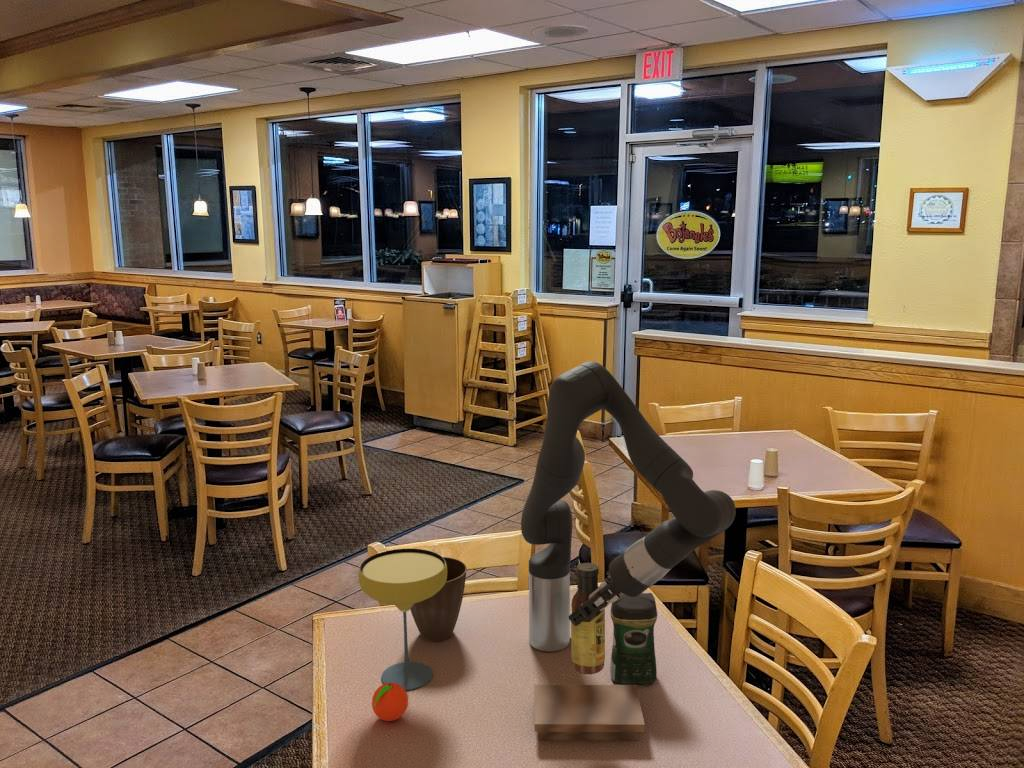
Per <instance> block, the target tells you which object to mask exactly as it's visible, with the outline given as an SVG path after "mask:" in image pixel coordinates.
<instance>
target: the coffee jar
mask: <svg viewBox="0 0 1024 768" xmlns="http://www.w3.org/2000/svg"><path fill="white" fill-rule="evenodd" d="M610 604H611V605H610V611H609V612H610V618H611V622H612V624H613V625H612V626H613V633H612V646H611V655H610V656H611V657H610V664H609V665H610V667H609V668H610V670H609V673H610V678H611V679H612V681H614V683H615V684H616V685H636V687H637V686H638V687H640V686H641V687H642V686H650V685H653V684H654V683H655V682H656V681H657V677H658V675H657V662H656V661H657V660H656V650H655V633H654V631H655V629H654V627H655V624H656V622H657V620H658V609H657V608H658V607H657V603H656V599H655V596H654V595H653V592H648V593H646V592H645V593H644V592H643V593H641V594H640V595H639V596H637V597H629V596H627V595H625V594H622V595H621V597H620V598H619V599H617V600H616V601H615V602H612V603H610Z"/></svg>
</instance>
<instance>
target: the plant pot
mask: <svg viewBox="0 0 1024 768" xmlns="http://www.w3.org/2000/svg"><path fill="white" fill-rule="evenodd" d="M442 557H443V558H444V560H445V561H446V565H447V580H446V582H445V585H444V586H443V587H442V588H441V590H439V591H438V592H437V593H436V594H435V595H433V596H432V597H430V598H428V599H426V600H423V601H421V602H418V603H415V604H413V606H412V607H411V608H410V610H409V611H410V613H411V615H412V618H413V620H414V623H415V625H416V628H417V630H418V632H419V635H420V637H422V639H424V640H425V641H429V642H440V641H444V640H447V639H449V638H450V637H452V635H453V633H454V630H455V628H456V625H457V622H458V619H459V615H460V611H461V607H462V603H463V598H464V593H465V588H466V587H465V586H466V581H467V579H466V578H467V571H468V569H467V568H468V567H467V565H466V564H465V563H464V562H463V561H461V560H459V559H456V558H453V557H447V556H442Z"/></svg>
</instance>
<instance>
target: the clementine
mask: <svg viewBox="0 0 1024 768" xmlns="http://www.w3.org/2000/svg"><path fill="white" fill-rule="evenodd" d="M408 706H409V697H408V693H407V690H405V689H404V688H403V687H402V686H400V685H399V684H396V683H385V684H383V683H382V685H379V687H378V688H377V689H376V690H375V691H374V693H373V695H372V700H371V708H372V711H373V713H374V714H375V716H377V717H378V719H380V720H381V721H385V722H394V721H396V720H398V719H400V718H401V717H403V715H404V714H405V713H406V711H407V710H408Z"/></svg>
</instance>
